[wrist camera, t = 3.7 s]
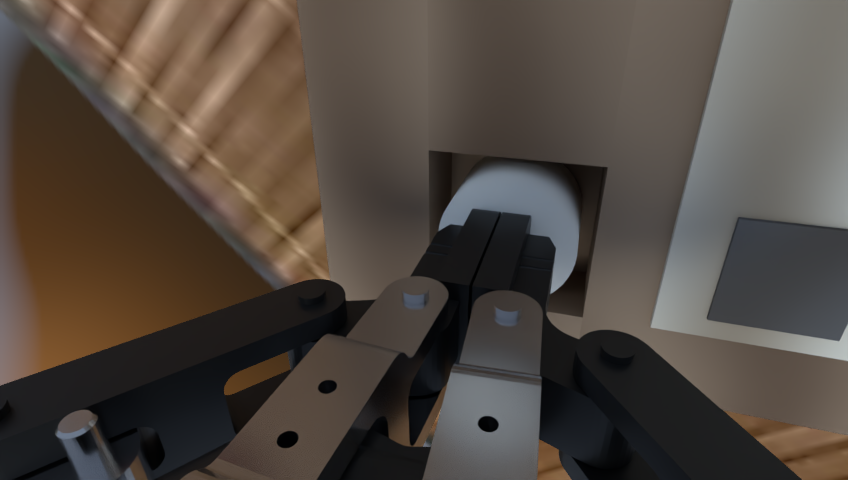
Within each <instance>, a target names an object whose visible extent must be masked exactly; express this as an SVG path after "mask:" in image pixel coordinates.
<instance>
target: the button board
mask: <svg viewBox="0 0 848 480" xmlns="http://www.w3.org/2000/svg"><path fill="white" fill-rule="evenodd" d="M297 6H298V14H299V23H300V31H301V40H302V48H303V56H304V65H305V73H306V81H307V90H308V98H309V107H310V115H311V123H312V132H313V140H314V148H315V157H316V165H317V174H318V182H319V190H320V199H321V207H322V216H323V224H324V232H325V241H326V249H327V257H328V266H329V274H330V281H333V282H336V283H338V284H339V285H341V286H342V287H343V289H344V291H345V295H346V301H355V300H374V299H377V298H378V297H379V295H380V294H381V293H382V292H383V290H384V289H385V288H386V287H387V286H388V285H389V284H390V283H392V282H394V281H396V280H398V279H401V278H405V277H410V276H411V274H412V273H413V271H414V269H415V268H416V266H417V264H418V263H419V261H420V259H421V258H422V256H423V254H424V253H425V252H426V250H427V248H428V246H429V245H431V241H432V240H433V238H434V236H435V235H436V233H437V232H438V231H439V225H440V221H441V218H442V216H443V213H444V212H445V210H446V208H447V206H448V205H449V203H450V202H451V200H452V199H453V197H454V195H455V194H456V192H457V191H458V189H459V188H460V186H461V184H462V183H463V181H464V180H465V178H466V177H467V175H468V173H469V172H470V171H471V169H472V168H473V167H474V166H475V165H476V164H477V163H478V162H479V161H480V160H482V159H483V158H484V157H486V156H494V157H505V158H516V159H526V160H537V161H547V162H558V163H562V164H563V165H564V166H565V167H566V168H567V169H568V170H569V171H570V172H571V174H572V175H573V176H574V178H575V180H576V182H577V183H578V186H579V189H580V192H581V196H582V205H583V206H582V217H581V226H580V234H579V243H578V252H577V258H576V262H575V265H574V268H573V270H572V272H571V274H570V276H569V277H568V279H567V280H566V281H565V282H564V284H563V285H562V286H560V287H559V288H558V289H557V290H556V291H554V292H553V293H551V294H550V299H549V305H548V311H547V317H548V319H549V320H550V322H551V323H552V324H553V325H554V326H555V327H556V328H558V329H559V330H560V331H562V332H564V333H565V334H568V335H570V336H572V337H574V338H577V339H580V338H581V337H582V336H583V335H585V334H587V333H589V332H592V331H596V330H616V331H620V332H624V333H627V334H630V335H632V336H635V337H637V338H639V339H640V340H642V341H643V342H645V343H646V344H647V345H648V346H650V347H651V348H652V349H653V350H654V351H655V352H656V353H658V354H659V355H660V356H661V357H662V358H663V359H664V360H666V361H667V362H668V363H669V364H670V365H671V366H673V367H674V368H675V369H676V370H677V371H678V372H679V373H681V374H682V375H683V376H684V377H685V378H686V379H687V380H689V381H690V382H691V383H692V384H693V385H694V386H695V387H697V388H698V389H699V390H700V391H701V392H702V393H703V394H705V395H706V396H707V397H708V398H709V399H710V400H711V401H713V402H714V403H715V404H716V405H717V406H718V407H719V408H721V409H722V410H725V411H730V412H735V413H740V414H744V415H749V416H754V417H759V418H764V419H769V420H774V421H779V422H784V423H789V424H794V425H799V426H804V427H809V428H814V429H819V430H824V431H829V432H833V433H838V434H843V435H848V0H297Z"/></svg>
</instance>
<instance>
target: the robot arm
mask: <svg viewBox="0 0 848 480" xmlns="http://www.w3.org/2000/svg"><path fill="white" fill-rule="evenodd" d="M530 229H531V215H523V214H515V213H507V212H502V214H501V212H498V211H490V210H482V209H472V210H471V212H470V214H469V216H468V218H467V220H466V221H465V223H464V225H463V226H461V225H454V224H450V225H448V226H446V227H445V228H443V229H441V230H440V231H438V232H437V233H436V235H435V236H434V238H433V240H432V241H431V245H429V246H428V248H427V250H426V252H425V253H424V254H423V256H422V258H421V259H420V261H419V263H418V264H417V266H416V268H415V269H414V271H413V273H412V274H411V276H410V277H405V278H401V279H398V280H396V281H394V282H392V283H390V284H389V285H388V286H387V287H386V288H385V289H384V290H383V292H382V293H381V294H380V295H379V297H378V298H377V299H374V300H355V301H346V295H345V291H344V289H343V287H342V286H341V285H339V284H338V283H336V282H333V281H330V280H324V279H313V280H306V281H302V282H299V283H296V284H293V285H290V286H287V287H284V288H281V289H279V290H276V291H273V292H270V293H267V294H264V295H261V296H259V297H256V298H253V299H250V300H247V301H244V302H241V303H238V304H235V305H232V306H229V307H227V308H224V309H221V310H218V311H215V312H212V313H210V314H206V315H203V316H201V317H198V318H195V319H192V320H189V321H186V322H183V323H180V324H177V325H175V326H172V327H169V328H166V329H163V330H160V331H157V332H154V333H152V334H148V335H146V336H143V337H140V338H137V339H134V340H131V341H128V342H125V343H122V344H120V345H117V346H114V347H111V348H108V349H105V350H102V351H100V352H96V353H94V354H91V355H88V356H85V357H82V358H79V359H76V360H73V361H70V362H68V363H65V364H62V365H59V366H56V367H53V368H50V369H47V370H44V371H41V372H39V373H36V374H33V375H30V376H27V377H24V378H21V379H18V380H16V381H13V382H10V383H7V384H4V385H1V386H0V480H537V468H538V447H539V439H540V440H542V441H544V442H546V443H548V444H550V445H551V446H553V447H555V448H557V449H559V458H560V461H561V464H562V466H563V467H564V469H565V470H566V472H567V473H568V475H569V476H570V478H571V479H572V480H802V479H801V478H800V477H798V476H797V475H796V474H795V473H794V472H793V471H792V470H790V469H789V468H788V467H787V466H786V465H785V464H784V463H782V462H781V461H780V460H779V459H778V458H777V457H775V456H774V455H773V454H772V453H771V452H770V451H769V450H767V449H766V448H765V447H764V446H763V445H762V444H761V443H759V442H758V441H757V440H756V439H755V438H754V437H753V436H751V435H750V434H749V433H748V432H747V431H746V430H745V429H743V428H742V427H741V426H740V425H739V424H738V423H737V422H735V421H734V420H733V419H732V418H731V417H730V416H729V415H727V414H726V413H725V412H724V411H723V410H722V409H721V408H719V407H718V406H717V405H716V404H715V403H714V402H713V401H711V400H710V399H709V398H708V397H707V396H706V395H705V394H703V393H702V392H701V391H700V390H699V389H698V388H697V387H695V386H694V385H693V384H692V383H691V382H690V381H689V380H687V379H686V378H685V377H684V376H683V375H682V374H681V373H679V372H678V371H677V370H676V369H675V368H674V367H673V366H671V365H670V364H669V363H668V362H667V361H666V360H664V359H663V358H662V357H661V356H660V355H659V354H658V353H656V352H655V351H654V350H653V349H652V348H651V347H650V346H648V345H647V344H646V343H645V342H643V341H642V340H640V339H639V338H637V337H635V336H632V335H630V334H627V333H624V332H620V331H616V330H596V331H592V332H589V333H587V334H585V335H583V336H582V337H581V338H580V339H577V338H574V337H572V336H570V335H568V334H565V333H564V332H562V331H560V330H559V329H558V328H556V327H555V326H554V325H553V324H552V323H551V322H550V320H549V319H548V317H547V311H548V305H549V299H550V292H551V284H552V276H553V268H554V261H555V253H556V247H555V246H554V244H553V242H552V241H551V239H550V237H546V236H538V235H530ZM287 351H288V356H289V362H290V368H291V370H288V371H286V372H284V373H281V374H279V375H277V376H274V377H272V378H270V379H267V380H265V381H263V382H260V383H258V384H256V385H253V386H251V387H249V388H246V389H244V390H242V391H239V392H237V393H235V394H232V395H224V386H225V384H226V382H227V381H228V379H229V378H230V377H231V376H232V375H234V374H235V373H237V372H239V371H241V370H243V369H246V368H248V367H251V366H253V365H256V364H258V363H260V362H263V361H265V360H268V359H270V358H273V357H275V356H277V355H280V354H282V353H285V352H287ZM447 383H448V384H447ZM440 409H441V411H440ZM439 411H440V415H439V419H438V423H437V426H436V430H435V434H434V438H433V442H432V445H431V447H423V445H424V443H425V441H426V438H427V436H428V434H429V432H430V430H431V428H432V426H433V424H434V422H435V420H436V418H437V415H438V413H439Z"/></svg>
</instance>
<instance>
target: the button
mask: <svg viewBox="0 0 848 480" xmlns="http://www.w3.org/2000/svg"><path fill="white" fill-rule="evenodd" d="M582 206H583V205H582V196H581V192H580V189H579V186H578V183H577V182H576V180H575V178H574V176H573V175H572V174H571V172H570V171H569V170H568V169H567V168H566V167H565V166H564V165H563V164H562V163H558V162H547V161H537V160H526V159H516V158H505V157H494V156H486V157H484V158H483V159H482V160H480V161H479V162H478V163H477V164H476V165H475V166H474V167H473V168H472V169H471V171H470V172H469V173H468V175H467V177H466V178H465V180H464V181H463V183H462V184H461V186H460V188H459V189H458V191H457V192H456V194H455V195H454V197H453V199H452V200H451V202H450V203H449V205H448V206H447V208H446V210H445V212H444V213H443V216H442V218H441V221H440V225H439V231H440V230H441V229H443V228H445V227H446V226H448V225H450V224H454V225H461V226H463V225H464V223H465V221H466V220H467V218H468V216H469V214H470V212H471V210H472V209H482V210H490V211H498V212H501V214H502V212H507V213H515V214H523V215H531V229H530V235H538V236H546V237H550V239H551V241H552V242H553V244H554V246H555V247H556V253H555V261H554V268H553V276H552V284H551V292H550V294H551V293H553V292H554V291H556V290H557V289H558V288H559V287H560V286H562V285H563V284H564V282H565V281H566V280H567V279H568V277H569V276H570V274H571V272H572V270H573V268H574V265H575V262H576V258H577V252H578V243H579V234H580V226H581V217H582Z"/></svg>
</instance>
